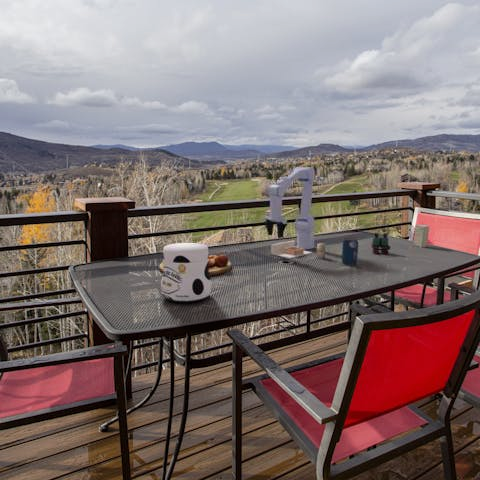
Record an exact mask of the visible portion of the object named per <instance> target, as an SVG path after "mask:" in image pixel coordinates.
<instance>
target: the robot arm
mask: <svg viewBox="0 0 480 480" xmlns="http://www.w3.org/2000/svg"><path fill="white" fill-rule="evenodd" d="M315 178H316V170H315V169H314V167H312V166H311V167H310V166H309V167H308V166H307V167H306V166H302V167H301V166H296V167H295V168H293V171H292V172H291V173H290V174H289V175H288V176H282V177H281V179H280V180H278V181H276V183H275V184H271V185H269V187H268V188H267V189H268V190H267V193H268V198H269V216H268V215H265V216H264V221H263V223H264V225H265V227H266V228H265V229H266V231H267V235H268V236H273V230H274V225H275V224H276V228H277V238H283V236H284V232H285V230H286V228H287V226H288V219H286V218H282V213H283V212H282V209H283V197H284V196H285V193H286V191H287V190H288V189H290V188H291V186H292V184H293V183H294V182H295V181H298V182H299V183H300V184H301V185H302V193H301V204H300V213H299V215H297V216H296V217H295V218H296V219H295V221H294V226H293V227H294V229H295V230H296V233H297V234H296V235H297V238H296V245H295V247H299V248H304V251H307V250H310V249H314V248H316V246H315V234H314V232H313V231H314V230H315V225H316V224H315V218H314V217H313V216H312V215H311V210H312V209H311V208H312V207H311V206H312V197H313V189H314V183H315V180H316V179H315Z"/></svg>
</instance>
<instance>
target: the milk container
mask: <svg viewBox="0 0 480 480" xmlns="http://www.w3.org/2000/svg"><path fill="white" fill-rule="evenodd" d="M162 249H163V250H162V262H163V272H162V276H161V281H160V290H161V295H162V296H163V298H164V299H166V300H168V301H171V302H175V303H194V302H195V303H196V302H200V301H202V300H205V299H206V298H207V297H209V296H210V294H211V291H212V278H211V276H210V275H209V258H208V257H209V256H210V254H209V246H207V245H206V244H203V243H195V242H194V243H193V242H178V243H170V244H167V245H165V246H163V248H162Z"/></svg>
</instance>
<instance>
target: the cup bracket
mask: <svg viewBox="0 0 480 480" xmlns="http://www.w3.org/2000/svg"><path fill="white" fill-rule="evenodd" d="M295 246H296V240H290V241H289V240H288V241H283V242H278V243H274V244H271V246H270V247H271V250H270V255H273V256H278V257H281V258H285V259H295V258H298V257H303V256H307V255H312V254H313V252H312V251H308V250H304V248H299V247H295Z"/></svg>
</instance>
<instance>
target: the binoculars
mask: <svg viewBox="0 0 480 480" xmlns="http://www.w3.org/2000/svg"><path fill="white" fill-rule="evenodd" d="M389 245H390V244H389V237H388V232H385V233H383V234H382V236H379V233H377V232H374V236H373V237H372V241H371V249H372V250H371V251H372V254H373V255H377V256H378V255H380V252H381V254H382V255H383V254H384V255H383V256H386V255H388V254H389V250H391V246H389ZM389 255H390V254H389Z"/></svg>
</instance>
